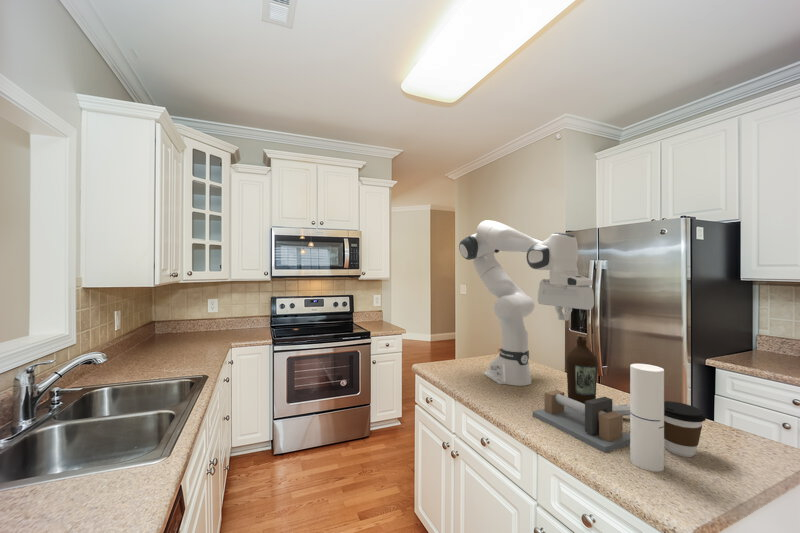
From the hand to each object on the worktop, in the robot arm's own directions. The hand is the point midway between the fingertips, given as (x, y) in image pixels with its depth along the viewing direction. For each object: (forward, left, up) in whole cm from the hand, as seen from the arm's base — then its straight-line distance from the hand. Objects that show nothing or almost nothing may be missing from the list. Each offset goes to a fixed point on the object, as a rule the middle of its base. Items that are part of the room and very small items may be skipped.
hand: (563, 320), depth 118 cm
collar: (+14, -2, -31) cm, 34 cm away
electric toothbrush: (+9, +17, -34) cm, 39 cm away
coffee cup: (+29, +11, -33) cm, 45 cm away
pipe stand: (+8, -2, -33) cm, 34 cm away
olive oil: (-7, +18, -33) cm, 39 cm away
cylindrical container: (+29, -4, -33) cm, 44 cm away
